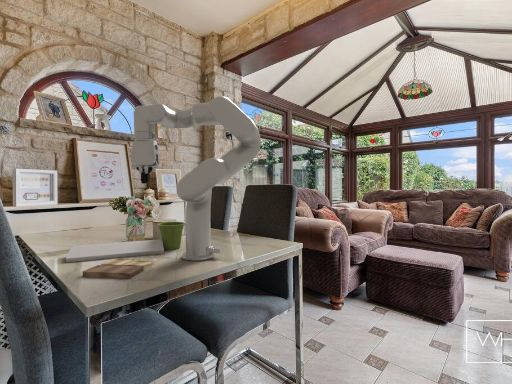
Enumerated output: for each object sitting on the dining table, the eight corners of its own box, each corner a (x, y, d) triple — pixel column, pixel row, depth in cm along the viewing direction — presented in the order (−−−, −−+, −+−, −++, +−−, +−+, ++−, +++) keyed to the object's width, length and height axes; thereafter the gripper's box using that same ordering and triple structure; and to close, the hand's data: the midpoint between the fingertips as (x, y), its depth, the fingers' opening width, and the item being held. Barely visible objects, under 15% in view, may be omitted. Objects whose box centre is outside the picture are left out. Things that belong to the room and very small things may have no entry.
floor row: (143, 270, 90) (143, 266, 90) (130, 278, 82) (130, 273, 82) (99, 269, 92) (99, 264, 91) (82, 276, 84) (82, 271, 84)
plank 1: (133, 263, 98) (133, 258, 98) (121, 269, 91) (121, 264, 91) (114, 263, 99) (114, 258, 99) (101, 268, 92) (101, 263, 92)
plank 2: (154, 266, 97) (154, 261, 97) (143, 270, 90) (144, 264, 90) (134, 265, 98) (134, 260, 98) (122, 269, 91) (123, 264, 91)
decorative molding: (163, 260, 114) (162, 249, 123) (163, 249, 112) (162, 239, 121) (66, 270, 100) (72, 256, 109) (65, 258, 99) (71, 245, 108)
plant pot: (152, 248, 122) (152, 223, 122) (176, 244, 131) (175, 221, 131) (166, 252, 114) (166, 226, 114) (190, 247, 123) (190, 223, 123)
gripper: (166, 139, 112) (167, 183, 112) (132, 139, 114) (133, 183, 114) (157, 135, 104) (158, 183, 105) (121, 136, 106) (122, 183, 107)
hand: (145, 183), depth 110 cm, fingers closed
